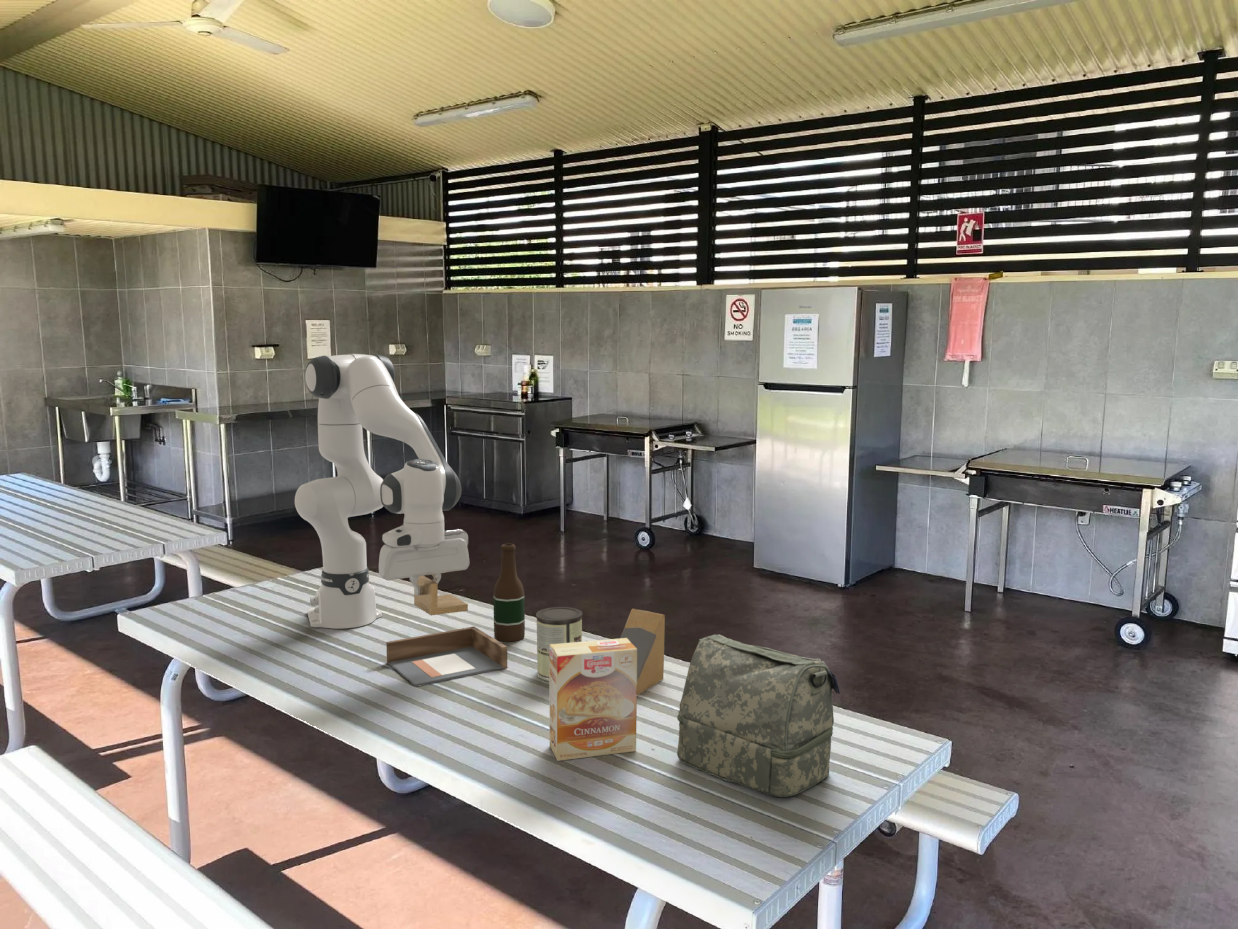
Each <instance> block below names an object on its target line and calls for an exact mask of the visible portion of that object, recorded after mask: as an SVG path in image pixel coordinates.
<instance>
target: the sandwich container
mask: <svg viewBox="0 0 1238 929" xmlns="http://www.w3.org/2000/svg"><path fill="white" fill-rule="evenodd" d="M665 620H666V615H665V614H663V613H657V612H652V611H649V610H643V609H639V608H638V609H637V608H631V610H630V612H629V615H628V617H627V620H626V623H625V625H624V628H623V631H622V633H621V635H620V637H619V639H620V638H627V639H628V640H629V641H630V642H631V643H632V644H633V645H634V646H635V647H636V648H637V696H638V695H641V694H642V693H644V692H646V691H647V690H649V689H650V688H652V687H654V686H656V684H658V683H660V682H661V681H662V680H664V672H665V670H664V668H665V666H664V665H665V631H666V630H665V626H666V624H665V622H666V621H665Z"/></svg>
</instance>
